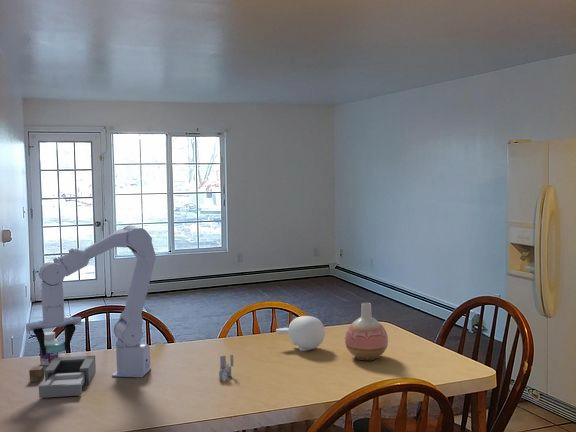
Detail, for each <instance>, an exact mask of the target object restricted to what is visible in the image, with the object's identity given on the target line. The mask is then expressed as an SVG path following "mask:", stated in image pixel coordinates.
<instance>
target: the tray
mask: <svg viewBox="0 0 576 432" xmlns="http://www.w3.org/2000/svg"><path fill="white" fill-rule="evenodd" d="M85 379H86V372H79V373H62V374H51V376H50V377H49V379H48V380H47V381H46V382H45V383H44V384H43V385H38V398H39V399H42V398H43V399H46V398H55V397H57V398H59V397H72V396H74V397H75V396H82V395H83V394H82V393H83V389H82V388H83V386H84V385H83V383H84V381H85Z"/></svg>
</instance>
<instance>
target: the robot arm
mask: <svg viewBox="0 0 576 432" xmlns="http://www.w3.org/2000/svg"><path fill="white" fill-rule="evenodd" d="M153 244H154V243H153V238H152V236H151V235H150V234H149V232H148V231H147V230H146V229H145V228H142V227H136V226H134V225H127V226H125V227H123V228H120V229H117V230H116V231H113V232H112V233H110V234H108V235H107V236H105V237H103V238H100V239H99V240H98V241H96V242H94V243H92V244H91V245H90V246H88V247H86V248H84V249H82V248H79V247H76V248H75V249H74V248H70V249H68V252H67V253H65V254H63V255H62V256H60V257H58V258H57V257H54V258H53V259H52V260H53V261H47V262H45V263H44V264H42V265H41V267H40V268H39V272H38V277H39V278H40V280H41V291H40V292H41V307H42V310H41V311H42V312H41V313H42V320H38V321H34V322H27V323H25V331H26V332H27V333H28V332H31V331H32V332H33V334H34V335H35V337H36V340H37V342H38V345H39V348H40V347H41V352H42V355H43V356H44V355H45V345H44V330H45V329H54V328H61V327H63V330H64V331H63V332H64V342H65V346H66V350H65V351H64V352H66V353H68V352H69V351H70V346H71V341H72V338H73V336H74V333H75V331H76V330H77V328H76V325H78V326H80V325H81V326H82V317H81V316H72V317H65V301H64V299H65V297H64V288H63V281H64V280H65V277H68V276H70V275H72V274H74V273H76V272H78V271H80V270H81V269H83V268H85V267H87V266H88V264H89V261H90V260H92V259H94V258H95V257H97V256H99V255H102V254H103V253H106V252H108V251H110V250H111V249H114V248H128V249H129V250H131V252H132V253H133V255H134V257H135V259H136V262H135V263H136V264H135V267H134V271H133V275H132V279H131V282H130V286H129V290H128V295H127V298H126V302H125V305H124V306H125V307H124V309H123V311H122V312H121V313H120V316H119V319H118V320H117V322H115V324H114V327H113V333H114V335H115V337H116V338H117V340H116V342H115V348H116V349H115V353H116V355H115V357H116V371H115V372H113V373H112V374H111V377H116V378H118V377H123V378H143V377H144V376H145V375H146V374H148V373H149V372H150V370H151V369H152V367H151V349H150V345H149V344H146V343H142V342H141V341H142V339H143V337H144V333H143V322H144V321H143V316H142V313H143V309H144V306H145V305H144V304H145V302H146V297H147V294H148V289H149V285H150V281H151V278H152V274H153V270H154V266H155V262H156V258H157V256H156V252H155V250H154V249H155V248H154V245H153Z"/></svg>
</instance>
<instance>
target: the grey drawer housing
mask: <svg viewBox="0 0 576 432" xmlns="http://www.w3.org/2000/svg"><path fill="white" fill-rule="evenodd" d="M96 365H97V364H96V355H79V356H78V355H77V356H61V357H59V356H58V358H54V359H53V361H52V362H51V363H50V365H47V367H46V369H44V379H45V383H46V381H47V380H48V379H49V377H50V376H51V374H62V373H79V372H86V379H85V381H84V383H83V385H82V386H85V385H86V386H88V385H90V384H91V381H92V379H93V377H94V375H95V373H96V370H97V366H96Z"/></svg>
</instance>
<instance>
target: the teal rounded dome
mask: <svg viewBox="0 0 576 432" xmlns="http://www.w3.org/2000/svg"><path fill="white" fill-rule="evenodd" d="M65 350H66V346H65V341H61V340H60V341H58V340H57V341H56V342H50V343H46V344H45V353H58V354H59V353H62V352H66V351H65Z"/></svg>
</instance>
